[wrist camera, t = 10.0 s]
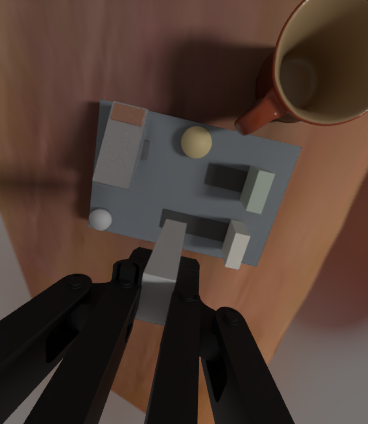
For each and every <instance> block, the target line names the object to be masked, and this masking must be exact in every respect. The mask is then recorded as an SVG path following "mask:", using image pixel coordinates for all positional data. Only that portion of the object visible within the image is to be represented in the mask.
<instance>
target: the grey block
mask: <svg viewBox="0 0 368 424" xmlns="http://www.w3.org/2000/svg"><path fill="white" fill-rule="evenodd" d="M274 176H275V174H274V173H272V172H270V171H268V170H266V169H264V168H260V167H256V166H252V165H250V168H249V172H248V175H247V178H246V181H245V184H244V187H243V191H242V194H241V197H240V201H241V203H242V205H243V206H244V208H245V210H246V211H250V212H254V213H258V214H261V213H262V210H263V207H264V204H265V202H266V199H267V196H268V193H269V190H270V188H271V185H272V182H273V179H274Z"/></svg>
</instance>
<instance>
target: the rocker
mask: <svg viewBox="0 0 368 424" xmlns="http://www.w3.org/2000/svg"><path fill="white" fill-rule="evenodd" d="M149 121H150V114H149V110H148V109H145V108H141V107H136V106H132V105H128V104H124V103H120V102H115V101H113V103H112V107H111V111H110V115H109V119H108V122H107V126H106V130H105V134H104V138H103V141H102V145H101V149H100V153H99V157H98V160H97V164H96V168H95V172H94V176H93V179H92V181H94V182H96V183H98V184H102V185H106V186H110V187H115V188H119V189H123V190H127V191H132V189H133V185H134V181H135V177H136V173H137V169H138V165H139V161H140V157H141V153H142V149H143V145H144V141H145V137H146V133H147V129H148V125H149Z"/></svg>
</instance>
